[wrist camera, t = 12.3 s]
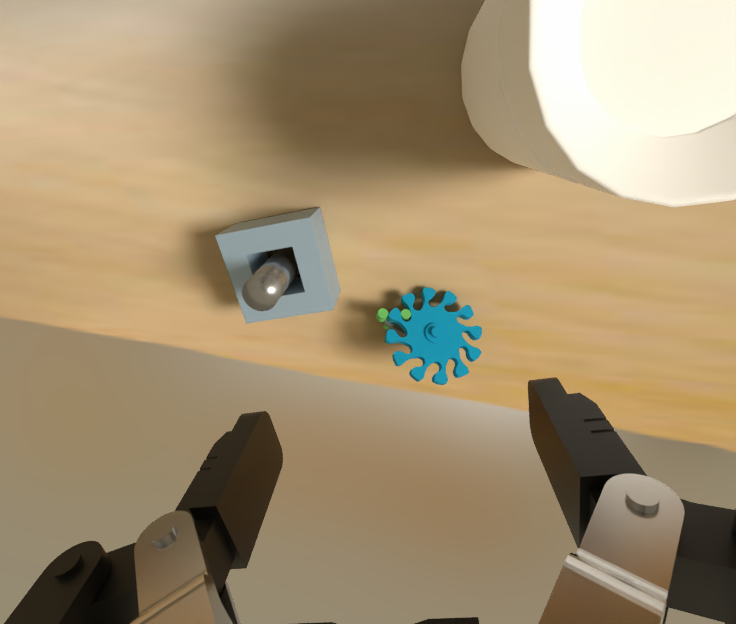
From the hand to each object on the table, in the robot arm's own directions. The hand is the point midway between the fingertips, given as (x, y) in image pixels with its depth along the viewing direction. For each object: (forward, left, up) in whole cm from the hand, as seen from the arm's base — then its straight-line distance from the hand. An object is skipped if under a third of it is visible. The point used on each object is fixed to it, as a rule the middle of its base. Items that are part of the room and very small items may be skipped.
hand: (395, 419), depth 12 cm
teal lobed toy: (+11, +1, -30) cm, 32 cm away
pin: (+2, -12, -30) cm, 32 cm away
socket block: (+2, -12, -30) cm, 32 cm away
